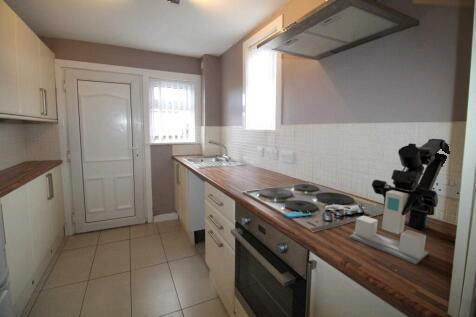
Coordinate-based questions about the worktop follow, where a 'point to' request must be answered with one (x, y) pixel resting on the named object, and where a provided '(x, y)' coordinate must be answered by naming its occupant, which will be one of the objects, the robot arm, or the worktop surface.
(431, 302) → the worktop surface
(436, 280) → the worktop surface
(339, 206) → the gun
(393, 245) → the board
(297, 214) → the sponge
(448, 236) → the worktop surface
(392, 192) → the block
